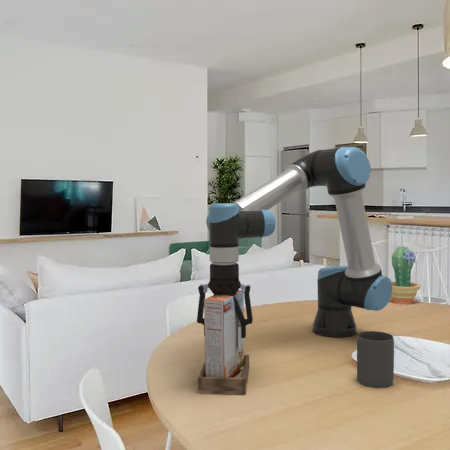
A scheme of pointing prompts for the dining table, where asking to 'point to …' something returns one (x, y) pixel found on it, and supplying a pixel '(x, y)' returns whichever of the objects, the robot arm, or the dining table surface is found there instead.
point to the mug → (375, 359)
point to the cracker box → (222, 335)
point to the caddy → (225, 381)
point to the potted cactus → (403, 276)
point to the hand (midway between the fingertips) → (225, 349)
